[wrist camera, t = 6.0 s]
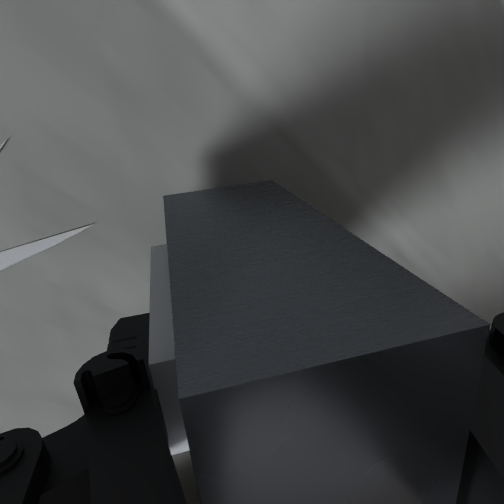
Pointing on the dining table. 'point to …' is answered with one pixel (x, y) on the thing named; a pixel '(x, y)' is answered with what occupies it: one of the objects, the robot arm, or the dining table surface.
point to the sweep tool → (312, 358)
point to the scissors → (32, 246)
